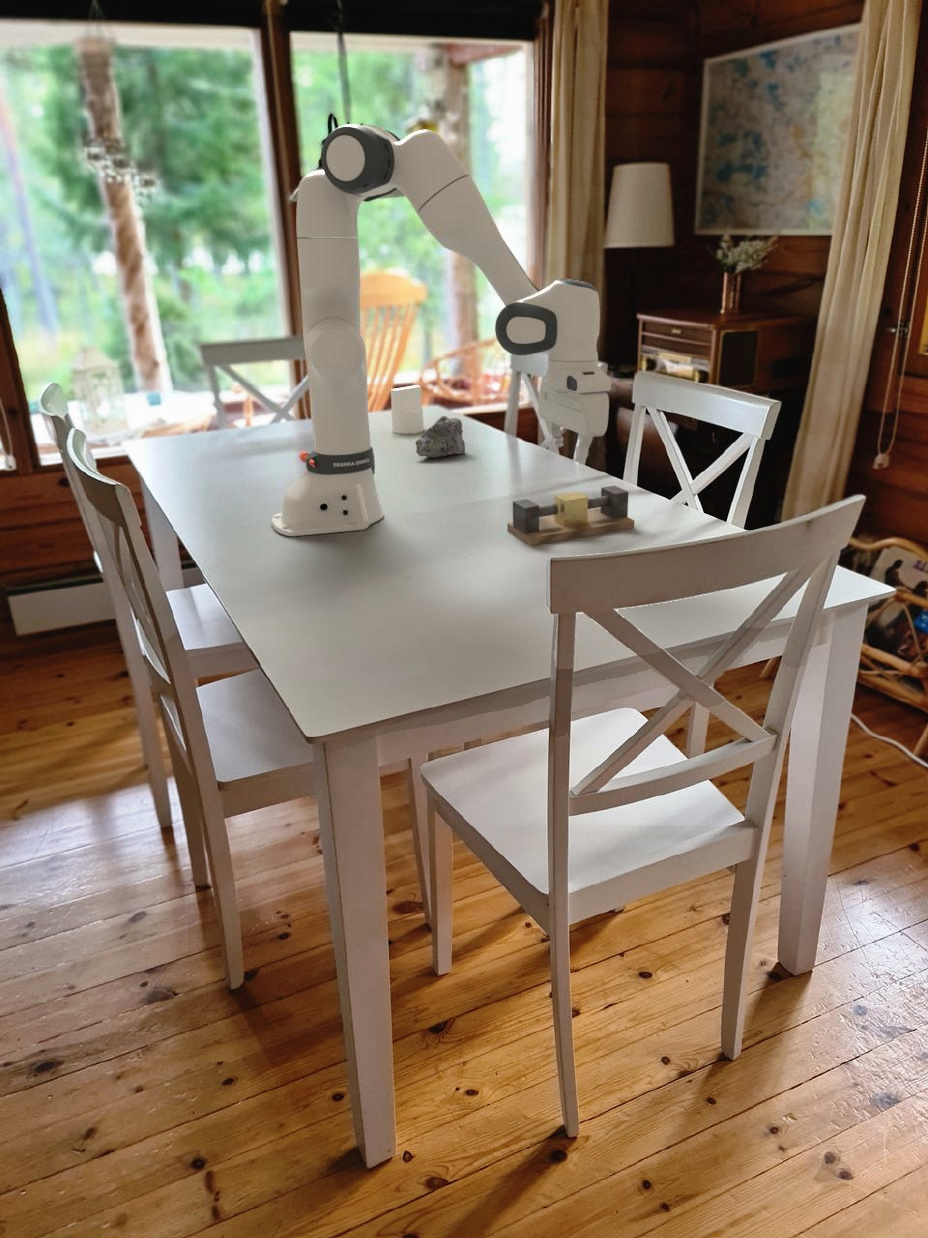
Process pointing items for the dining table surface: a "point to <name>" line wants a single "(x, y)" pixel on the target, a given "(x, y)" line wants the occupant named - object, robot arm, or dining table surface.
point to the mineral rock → (442, 439)
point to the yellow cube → (571, 509)
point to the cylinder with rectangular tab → (407, 409)
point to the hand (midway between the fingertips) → (569, 451)
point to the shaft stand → (548, 530)
